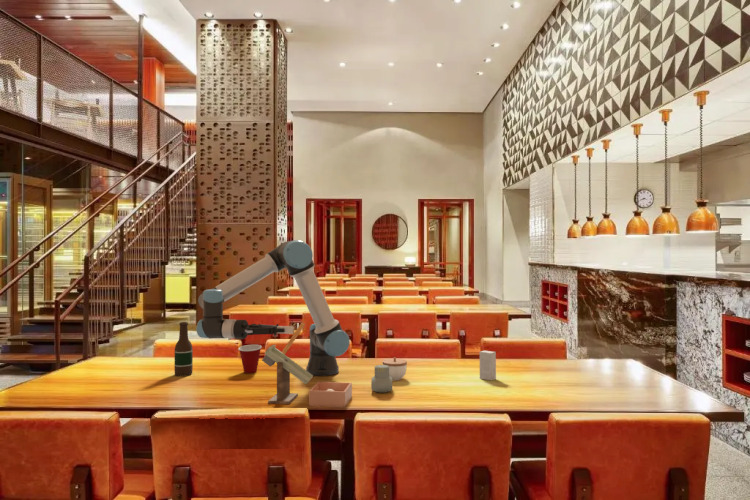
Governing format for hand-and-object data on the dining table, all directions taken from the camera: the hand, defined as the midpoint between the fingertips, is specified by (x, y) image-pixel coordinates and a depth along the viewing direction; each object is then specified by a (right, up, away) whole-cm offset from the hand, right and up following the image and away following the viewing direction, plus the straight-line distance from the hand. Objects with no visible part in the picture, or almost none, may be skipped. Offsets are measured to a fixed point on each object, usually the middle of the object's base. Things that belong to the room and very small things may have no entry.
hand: (293, 330), depth 198 cm
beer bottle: (-56, -26, +35) cm, 72 cm away
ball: (+15, -23, -8) cm, 29 cm away
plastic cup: (-27, -26, +40) cm, 55 cm away
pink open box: (+15, -25, -8) cm, 31 cm away
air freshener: (+35, -26, +7) cm, 44 cm away
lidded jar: (+41, -26, +27) cm, 55 cm away
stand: (-3, -26, -5) cm, 26 cm away
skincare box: (+82, -26, +26) cm, 90 cm away
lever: (-3, -16, -4) cm, 17 cm away
